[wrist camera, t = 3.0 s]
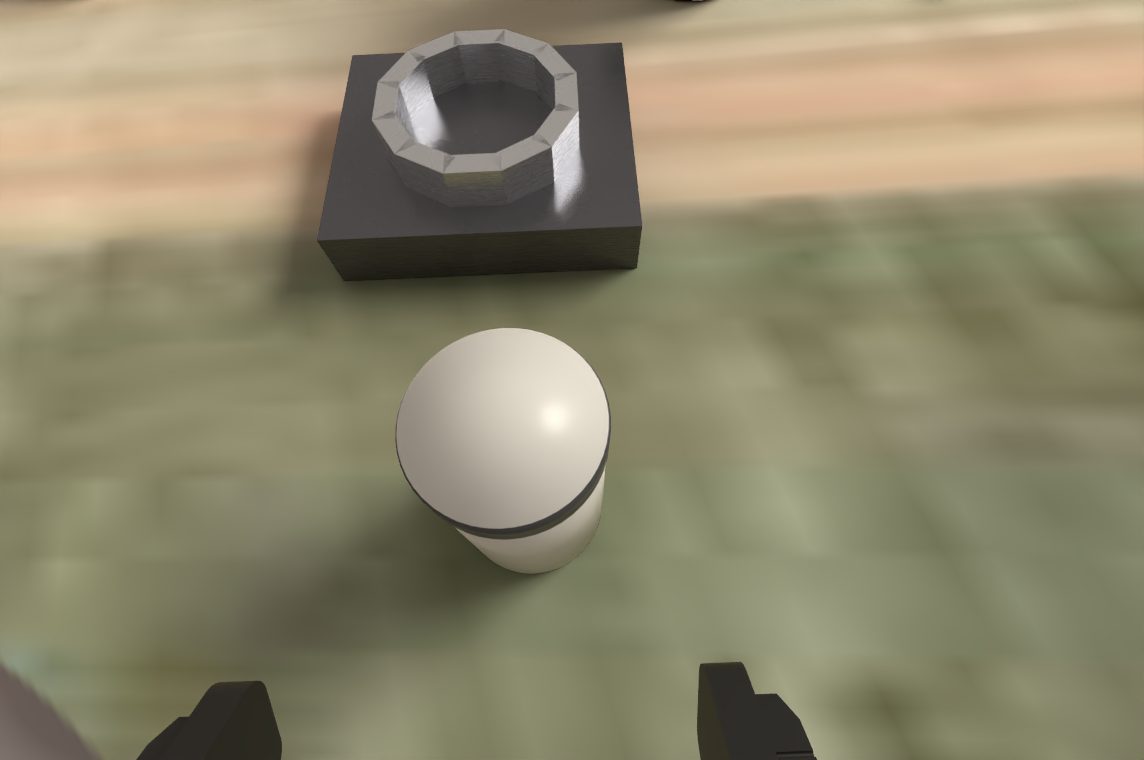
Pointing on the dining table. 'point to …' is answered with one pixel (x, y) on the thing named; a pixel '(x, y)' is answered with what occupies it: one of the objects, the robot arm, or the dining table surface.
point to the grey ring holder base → (483, 161)
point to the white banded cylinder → (509, 445)
